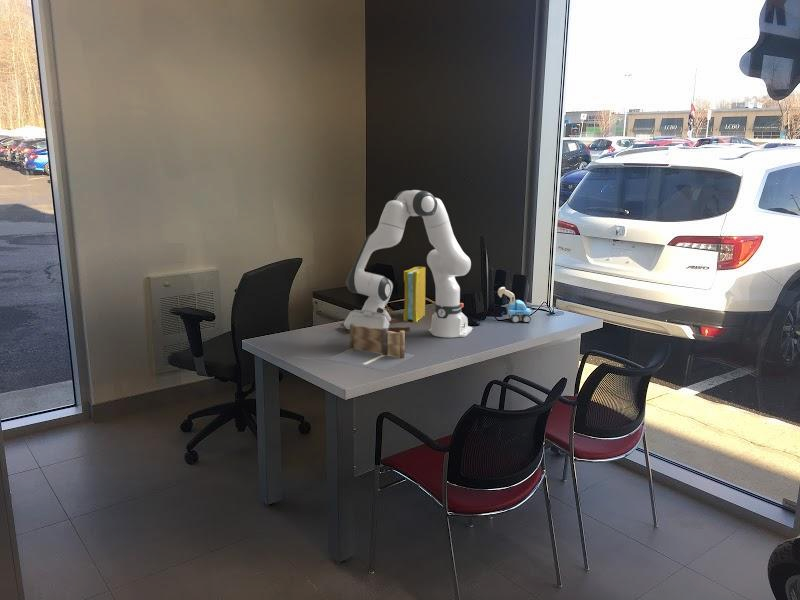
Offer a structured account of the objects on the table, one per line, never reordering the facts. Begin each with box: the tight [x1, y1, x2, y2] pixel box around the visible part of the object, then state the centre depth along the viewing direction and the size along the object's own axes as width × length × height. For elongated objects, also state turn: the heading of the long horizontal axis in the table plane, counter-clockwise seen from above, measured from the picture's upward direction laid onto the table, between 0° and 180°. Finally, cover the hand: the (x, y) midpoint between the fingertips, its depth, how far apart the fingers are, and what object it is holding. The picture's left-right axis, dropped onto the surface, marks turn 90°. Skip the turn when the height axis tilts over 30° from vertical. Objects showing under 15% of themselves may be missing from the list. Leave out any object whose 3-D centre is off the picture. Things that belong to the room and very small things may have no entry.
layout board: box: [325, 348, 416, 372], centre depth 267 cm, size 24×28×1 cm
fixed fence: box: [382, 328, 406, 358], centre depth 267 cm, size 10×2×11 cm, turn 59°
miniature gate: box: [339, 316, 411, 333], centre depth 312 cm, size 27×6×30 cm
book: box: [403, 266, 426, 323], centre depth 332 cm, size 17×7×25 cm, turn 159°
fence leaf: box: [349, 324, 382, 353], centre depth 273 cm, size 15×2×10 cm, turn 64°
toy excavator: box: [497, 286, 532, 323], centre depth 327 cm, size 9×17×17 cm, turn 88°
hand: (359, 339), depth 276 cm, fingers closed
